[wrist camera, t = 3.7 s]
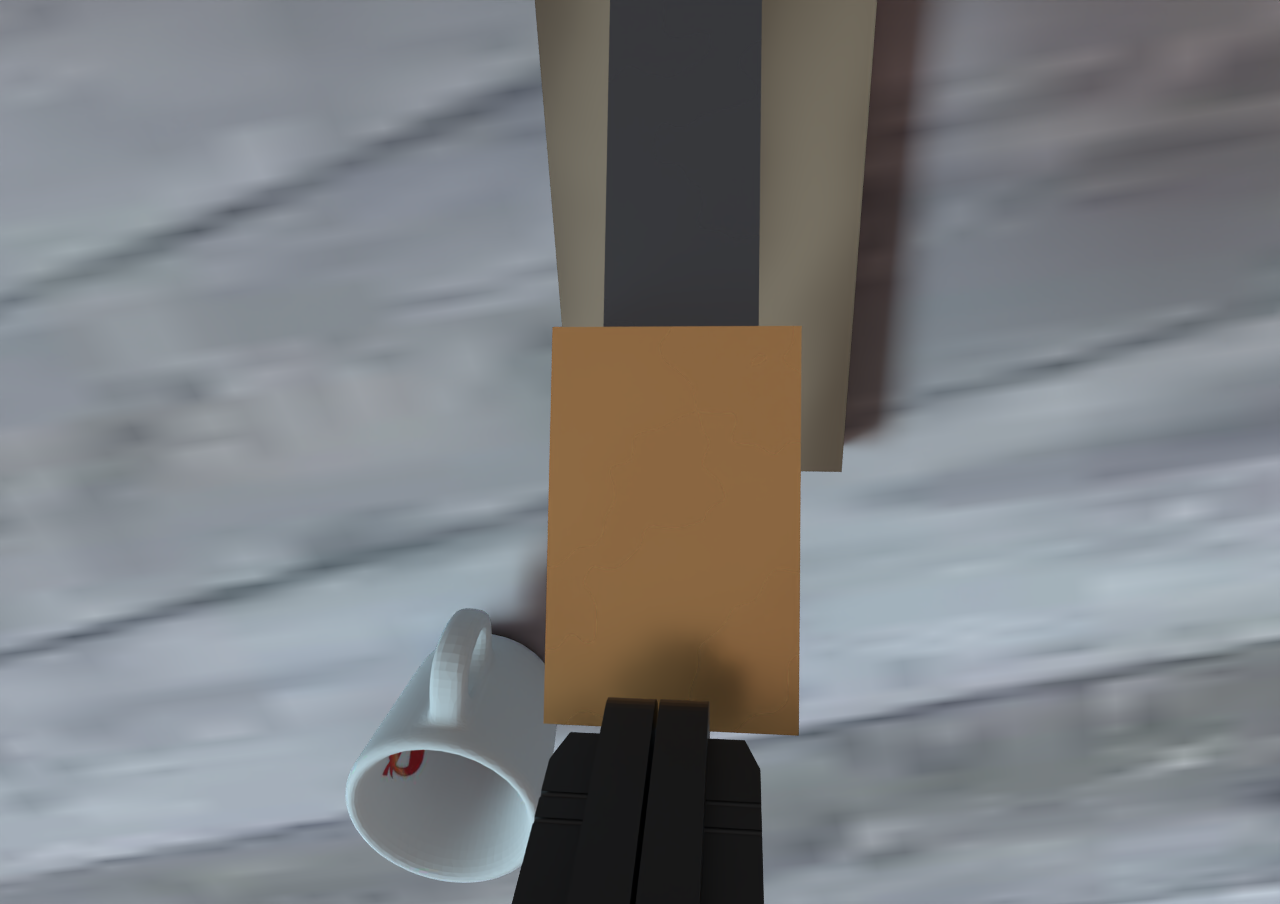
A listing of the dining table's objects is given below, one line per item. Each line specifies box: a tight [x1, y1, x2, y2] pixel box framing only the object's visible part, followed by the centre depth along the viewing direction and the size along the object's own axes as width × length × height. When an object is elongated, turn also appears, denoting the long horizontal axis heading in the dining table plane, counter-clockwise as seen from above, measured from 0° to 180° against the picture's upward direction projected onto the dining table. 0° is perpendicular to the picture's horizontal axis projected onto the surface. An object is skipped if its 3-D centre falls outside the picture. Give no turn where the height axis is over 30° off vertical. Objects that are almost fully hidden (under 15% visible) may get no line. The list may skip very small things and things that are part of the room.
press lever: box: [543, 0, 802, 736], centre depth 17 cm, size 4×24×3 cm, turn 2°
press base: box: [535, 0, 877, 472], centre depth 25 cm, size 10×26×8 cm, turn 2°
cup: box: [346, 608, 557, 883], centre depth 36 cm, size 11×8×8 cm
